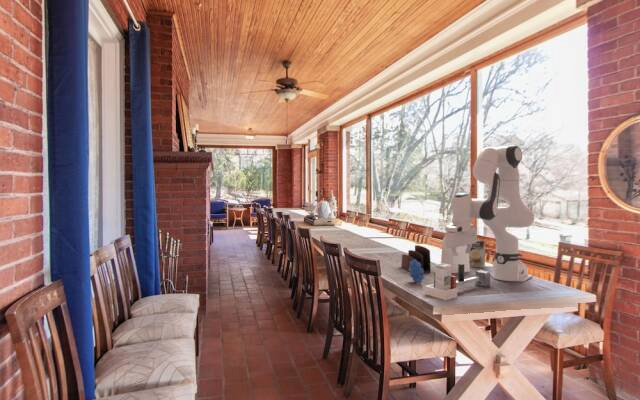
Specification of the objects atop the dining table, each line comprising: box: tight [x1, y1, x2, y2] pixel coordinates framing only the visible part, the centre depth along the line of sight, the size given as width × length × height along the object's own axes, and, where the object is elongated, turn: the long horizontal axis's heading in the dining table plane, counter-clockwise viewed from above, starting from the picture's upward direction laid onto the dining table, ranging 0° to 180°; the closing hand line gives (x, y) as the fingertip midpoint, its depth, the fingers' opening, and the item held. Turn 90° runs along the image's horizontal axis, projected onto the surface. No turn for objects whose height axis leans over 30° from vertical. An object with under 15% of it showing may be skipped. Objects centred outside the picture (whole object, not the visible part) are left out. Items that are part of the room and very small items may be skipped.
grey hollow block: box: [474, 269, 491, 288], centre depth 209 cm, size 4×5×7 cm
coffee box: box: [469, 239, 486, 268], centre depth 255 cm, size 9×6×16 cm
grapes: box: [408, 259, 425, 284], centre depth 215 cm, size 12×7×12 cm, turn 22°
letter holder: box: [401, 244, 432, 274], centre depth 246 cm, size 10×20×14 cm, turn 12°
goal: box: [424, 283, 458, 301], centre depth 191 cm, size 8×12×4 cm, turn 34°
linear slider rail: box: [451, 264, 480, 289], centre depth 200 cm, size 24×7×12 cm, turn 124°
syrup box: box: [433, 262, 452, 291], centre depth 192 cm, size 6×6×14 cm
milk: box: [440, 236, 471, 274], centre depth 243 cm, size 12×12×26 cm
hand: (461, 254), depth 198 cm, fingers open, 8 cm apart
